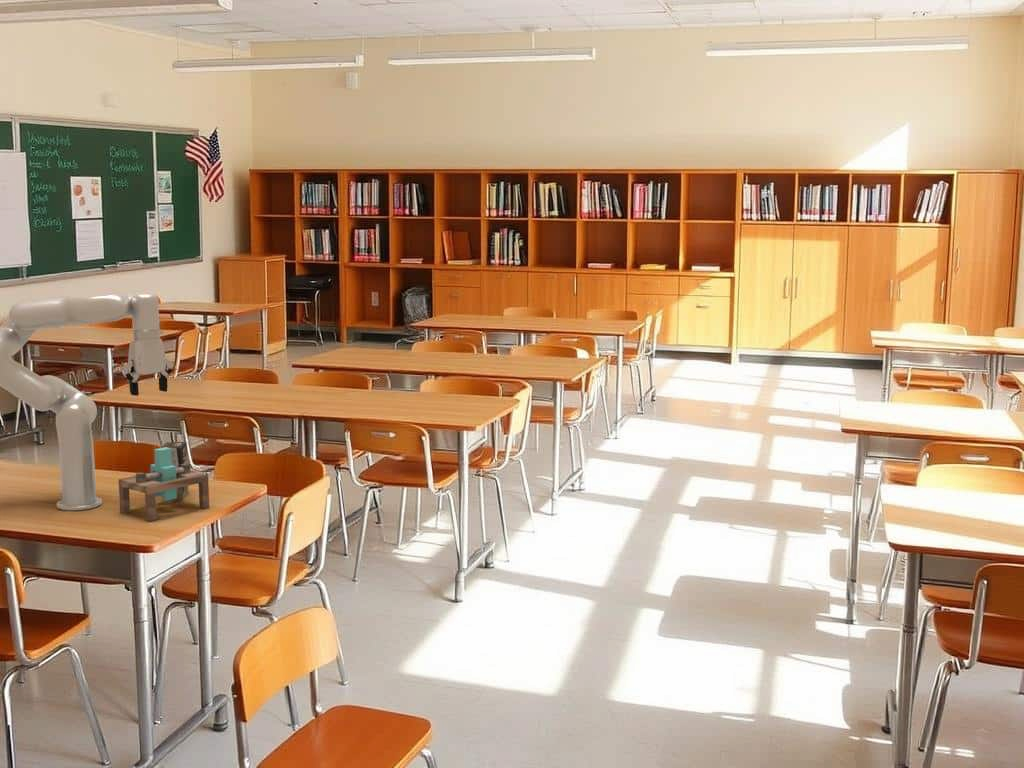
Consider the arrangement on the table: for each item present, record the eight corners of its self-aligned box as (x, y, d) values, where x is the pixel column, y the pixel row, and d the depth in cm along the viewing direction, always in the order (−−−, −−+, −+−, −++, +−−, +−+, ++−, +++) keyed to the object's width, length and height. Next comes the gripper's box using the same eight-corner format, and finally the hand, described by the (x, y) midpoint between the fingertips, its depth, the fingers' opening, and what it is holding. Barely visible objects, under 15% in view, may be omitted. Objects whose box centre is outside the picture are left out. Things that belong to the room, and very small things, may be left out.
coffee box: (183, 499, 345) (181, 447, 342) (161, 499, 344) (159, 447, 342) (189, 492, 354) (187, 441, 351) (168, 492, 353) (166, 441, 351)
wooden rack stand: (120, 512, 329) (118, 471, 327) (178, 499, 345) (177, 459, 343) (150, 521, 320) (148, 479, 318) (209, 507, 335) (207, 466, 334)
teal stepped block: (151, 496, 332) (149, 448, 330) (163, 494, 336) (161, 445, 333) (165, 501, 328) (163, 451, 326) (176, 498, 331) (175, 449, 329)
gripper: (164, 332, 342) (166, 388, 345) (112, 337, 329) (115, 395, 331) (179, 334, 337) (181, 390, 340) (127, 339, 324) (130, 398, 327)
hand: (149, 393), depth 336 cm, fingers open, 9 cm apart
